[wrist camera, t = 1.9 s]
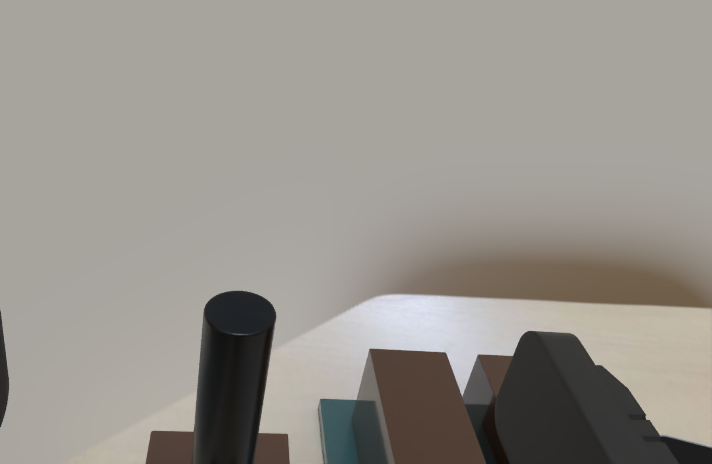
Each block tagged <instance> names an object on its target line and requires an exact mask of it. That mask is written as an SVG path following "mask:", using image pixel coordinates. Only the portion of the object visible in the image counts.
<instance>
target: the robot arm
mask: <svg viewBox="0 0 712 464" xmlns="http://www.w3.org/2000/svg"><path fill="white" fill-rule="evenodd" d="M8 393H9V377H8V370H7V360H6V352H5V344H4V336H3V327H2V319H1V312H0V427H1V424H2V421H3V418H4V415H5V411H6V407H7V401H8ZM645 416H646V414H645V413H644V411H643V410H642V408H641V407H640V405H639V404H638V403H637V401H636V400H635V398H634V397H633V395H632V394H631V392H630V391H629V389H628V388H627V387H626V386H624V385H623V384H622V383H621V382H620V381H619V380H618V379H616V378H615V377H614V376H613V375H612V374H611V373H610V372H608V371H607V370H606V369H605V368H604V367H603V366H600V365H595V364H594V362H593V361H592V359H591V358H590V356H589V355H588V353H587V351H586V350H585V348H584V347H583V345H582V344H581V342H580V341H579V339H578V338H577V337H576V336H575V335H573V334H570V333H556V332H538V331H527V332H526V333H524V334H523V335H522V337H521V338H520V340H519V343H518V345H517V348H516V350H515V353H514V355H513V358H512V360H511V363H510V365H509V368H508V370H507V373H506V375H505V378H504V380H503V383H502V385H501V388H500V390H499V393H498V395H497V398H496V403H495V425H496V430H497V434H498V436H499V439H500V441H501V444H502V446H503V449H504V451H505V454H506V456H507V458H508V461H509V463H510V464H679V463H678V461H677V460H676V459H675V457H674V456H673V454H672V453H671V451H670V450H669V448H668V447H667V445H666V444H665V442H661V441H660V437H661V436H660V435H659V433H658V432H657V431H656V429H655V428H654V426H653V425H652V423H651V422H650V420H646V418H645Z"/></svg>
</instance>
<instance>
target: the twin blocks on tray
mask: <svg viewBox="0 0 712 464" xmlns="http://www.w3.org/2000/svg"><path fill="white" fill-rule="evenodd" d="M512 358H513V356H498V355H478V356H477V359H476V361H475V364H474V367H473V369H472V372H471V375H470V378H469V380H468V383H467V386H466V388H465V391H464V394H463V396H462V395H461V393H460V390H459V387H458V385H457V382H456V379H455V376H454V374H453V371H452V368H451V365H450V363H449V360H448V357H447V354H446V353H444V352H425V351H405V350H386V349H369V353H368V357H367V361H366V365H365V369H364V373H363V377H362V381H361V384H360V388H359V392H358V396H357V400H339V399H320V402H319V407H318V410H319V419H320V428H321V437H322V446H323V455H324V464H510V463H509V461H508V458H507V456H506V454H505V451H504V449H503V446H502V444H501V441H500V439H499V436H498V434H497V430H496V425H495V403H496V398H497V395H498V393H499V390H500V388H501V385H502V383H503V380H504V378H505V375H506V373H507V370H508V368H509V365H510V363H511V360H512Z"/></svg>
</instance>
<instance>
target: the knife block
mask: <svg viewBox="0 0 712 464" xmlns="http://www.w3.org/2000/svg"><path fill="white" fill-rule="evenodd" d="M193 437H194V432H177V431H152V432H151V436H150V442H149V447H148V453H147V459H146V464H191V462H192V449H193ZM254 464H289V446H288V435H287V434H269V433H258V439H257V445H256V452H255V458H254Z"/></svg>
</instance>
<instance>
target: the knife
mask: <svg viewBox="0 0 712 464" xmlns="http://www.w3.org/2000/svg"><path fill="white" fill-rule="evenodd" d="M275 322H276V312H275V309H274V307H273V305H272V304H271V303H270V302H269V301H268V300H267V299H265V298H263V297H262V296H259V295H257V294H254V293H251V292H246V291H229V292H224V293H221V294H218V295H216V296H214V297H213V298H212V299H210V300H209V301H208V303H207V304H206V306H205V308H204V314H203V327H202V340H201V351H200V363H199V376H198V388H197V400H196V412H195V425H194V437H193V449H192V462H191V464H254V458H255V452H256V445H257V439H258V432H259V426H260V419H261V413H262V406H263V400H264V393H265V387H266V380H267V374H268V367H269V361H270V354H271V347H272V341H273V335H274V328H275Z"/></svg>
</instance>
